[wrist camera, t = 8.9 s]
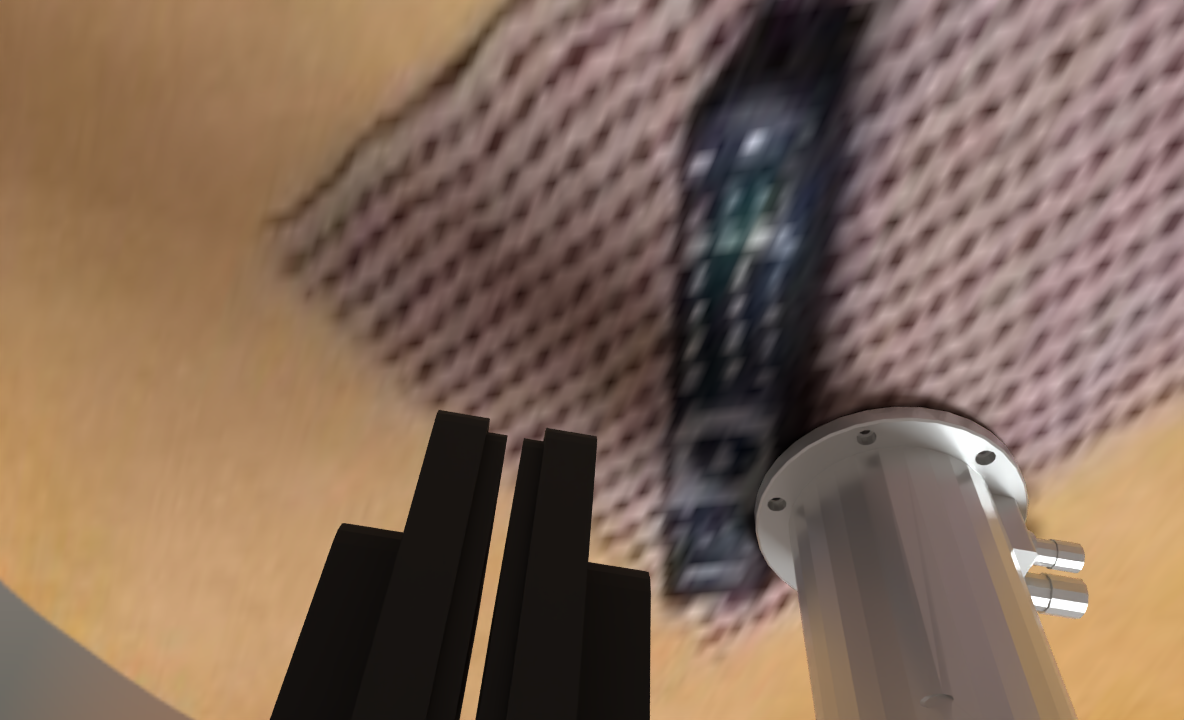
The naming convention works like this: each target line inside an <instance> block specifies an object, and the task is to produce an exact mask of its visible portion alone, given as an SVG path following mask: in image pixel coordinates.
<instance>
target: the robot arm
mask: <svg viewBox="0 0 1184 720" xmlns="http://www.w3.org/2000/svg"><path fill="white" fill-rule="evenodd" d="M489 422H490V419H489V418H483V417H477V416H471V415H465V414H459V413H453V412H447V411H441V410H439V411H438V412H437V415H436V418H435V422H434V425H433V429H432V433H431V436H430V440H429V443H428V447H427V450H426V454H425V458H424V461H423V465H422V468H421V472H420V475H419V479H418V483H417V486H416V490H415V493H414V497H413V500H412V504H411V508H410V511H409V515H408V518H407V522H406V525H405V529H404V532H397V531H390V530H384V529H378V528H371V527H365V526H359V525H353V524H346V523H342V524H341V526H340V527H339V529H338V531H337V533H336V536H335V538H334V540H333V543H332V546H331V549H330V551H329V554H328V557H327V560H326V563H325V566H324V568H323V571H322V574H321V577H320V580H319V583H318V585H317V588H316V591H315V594H314V597H313V599H312V602H311V605H310V608H309V611H308V614H307V616H306V619H305V622H304V625H303V628H302V631H301V633H300V636H299V639H298V642H297V645H296V647H295V650H294V653H293V656H292V659H291V662H290V664H289V667H288V670H287V673H286V676H285V678H284V681H283V684H282V687H281V690H280V693H279V695H278V698H277V701H276V704H275V707H274V710H273V712H272V715H271V718H270V720H460V714H461V709H462V703H463V698H464V692H465V687H466V681H467V676H468V670H469V665H470V659H471V654H472V648H473V643H474V637H475V631H476V626H477V620H478V614H479V608H480V602H481V596H482V590H483V584H484V578H485V572H486V565H487V559H488V553H489V547H490V541H491V535H492V529H493V522H494V516H495V510H496V504H497V498H498V492H499V486H500V479H501V473H502V467H503V461H504V455H505V449H506V442H507V435H501V434H495V433H489V432H488V430H489ZM596 450H597V436H591V435H585V434H579V433H573V432H567V431H561V430H555V429H549V428H546V431H545V436H544V441H537V440H531V439H525V438H524V441H523V446H522V452H521V458H520V464H519V469H518V475H517V481H516V486H515V492H514V498H513V503H512V509H511V515H510V521H509V526H508V532H507V538H506V543H505V549H504V555H503V561H502V566H501V572H500V578H499V583H498V589H497V595H496V601H495V606H494V612H493V618H492V624H491V630H490V636H489V642H488V648H487V654H486V660H485V666H484V672H483V678H482V684H481V690H480V696H479V702H478V708H477V714H476V720H650V618H651V588H650V577H649V572H646V571H641V570H634V569H628V568H622V567H616V566H609V565H603V564H597V563H591V562H588V557H589V544H590V530H591V517H592V504H593V490H594V477H595V463H596ZM1028 504H1029V500H1028V494H1027V488H1026V483H1025V480H1024V478H1023V476H1022V473H1021V471H1020V468H1019V466H1018V463H1017V462H1016V460H1015V459H1014V457H1013V455H1012V454H1011V452H1010V451H1009V449H1008V448H1007V446H1006V445H1005V444H1004V443H1002V442H1001V441H1000V440H999V439H998V438H997V437H996V436H995V435H994V434H993V433H992V432H990V431H989V430H987V429H985V428H984V427H982V426H980V425H978V424H977V423H975V422H973V421H972V420H969V419H967V418H964V417H961V416H958V415H955V414H952V413H949V412H946V411H940V410H934V409H929V408H923V407H888V408H880V409H872V410H866V411H862V412H858V413H855V414H851V415H848V416H844V417H840V418H838V419H836V420H833V421H831V422H829V423H827V424H824V425H822V426H820V427H818V428H816V429H814V430H813V431H811V432H809V433H808V434H806V435H805V436H803V437H802V438H800V439H799V440H797V441H796V442H794V443H793V444H792V445H791V446H790V447H789V448H788V449H787V450H786V451H785V452H783V453H782V454H781V455H780V456H779V457H778V458H777V459H776V461H775V462H774V464H773V465H772V466H771V468H770V469H769V470H768V472H767V473H766V475H765V477H764V479H763V481H762V483H761V486H760V488H759V490H758V493H757V498H756V504H755V510H754V514H755V528H756V535H757V539H758V543H759V548H760V550H761V552H762V554H763V556H764V558H765V560H766V562H767V564H768V565H769V566H770V568H771V569H772V570H773V571H774V572H775V573H776V574H777V575H778V577H779V578H780V579H781V580H783V581H784V582H785V583H786V584H788V585H789V586H790V587H792V588H793V589H795V590H796V591H797V592H798V599H799V606H800V613H801V620H802V627H803V634H804V641H805V648H806V655H807V662H808V669H809V676H810V682H811V689H812V696H813V703H814V710H815V717H816V720H1078V718H1077V715H1076V712H1075V710H1074V707H1073V705H1072V702H1071V699H1070V697H1069V694H1068V692H1067V689H1066V686H1065V684H1064V681H1063V679H1062V676H1061V673H1060V671H1059V668H1058V666H1057V663H1056V660H1055V658H1054V655H1053V652H1052V650H1051V647H1050V645H1049V642H1048V639H1047V637H1046V634H1045V632H1044V629H1043V626H1042V624H1041V621H1040V619H1039V616H1038V613H1040V614H1046V615H1052V616H1058V617H1064V618H1071V619H1079V618H1081V617H1082V616H1083V615H1084V613H1085V611H1086V608H1087V605H1088V590H1087V586H1086V584H1085V583H1084V582H1083V580H1082V579H1077V578H1072V577H1065V576H1059V575H1053V574H1047V573H1041V574H1035V573H1029V572H1028V570H1029V568H1030V567H1032V565H1038V566H1044V567H1047V568H1048V569H1054V570H1060V571H1066V572H1072V573H1078V572H1079V571H1080V570H1081V569H1082V567H1083V564H1084V558H1085V554H1084V550H1083V547H1082V546H1081V545H1080V544H1078V543H1072V542H1065V541H1059V540H1052V539H1050V540H1045V539H1039V538H1036V537H1035V535H1034V533H1032V532H1031V531H1029V530H1027V527H1026V525H1025V523H1026V521H1027V513H1028ZM1037 612H1038V613H1037Z"/></svg>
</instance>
